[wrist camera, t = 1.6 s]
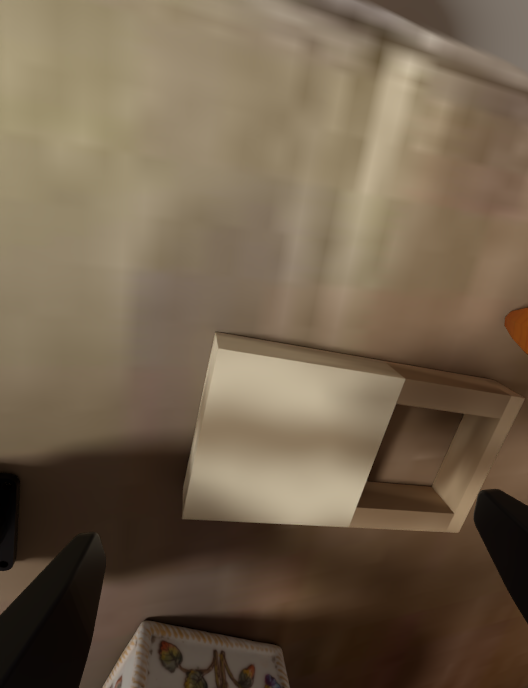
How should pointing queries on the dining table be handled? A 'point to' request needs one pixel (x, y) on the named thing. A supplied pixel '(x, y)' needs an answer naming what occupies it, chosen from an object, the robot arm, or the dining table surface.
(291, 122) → the dining table surface
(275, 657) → the decorative jar
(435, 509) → the open matchbox
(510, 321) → the carrot
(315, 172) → the dining table surface
